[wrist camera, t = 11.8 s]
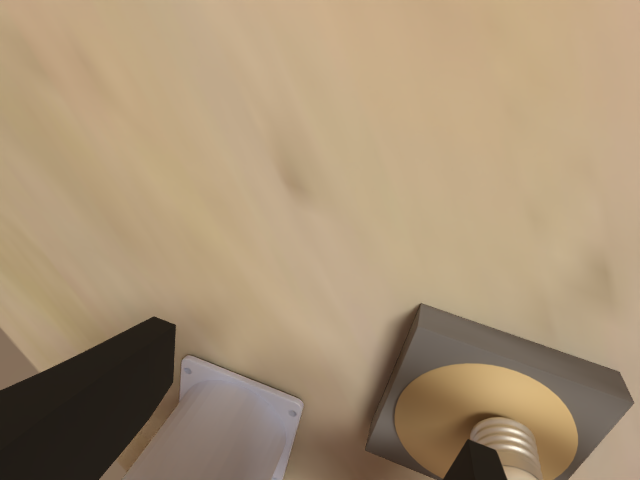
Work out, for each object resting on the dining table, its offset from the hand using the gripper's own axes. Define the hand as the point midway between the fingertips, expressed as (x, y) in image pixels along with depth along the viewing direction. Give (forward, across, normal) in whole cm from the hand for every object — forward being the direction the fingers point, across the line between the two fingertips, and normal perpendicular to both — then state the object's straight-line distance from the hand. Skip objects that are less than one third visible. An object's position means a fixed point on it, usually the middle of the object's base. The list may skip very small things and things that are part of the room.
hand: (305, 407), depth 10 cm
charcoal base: (+10, -8, +8) cm, 15 cm away
